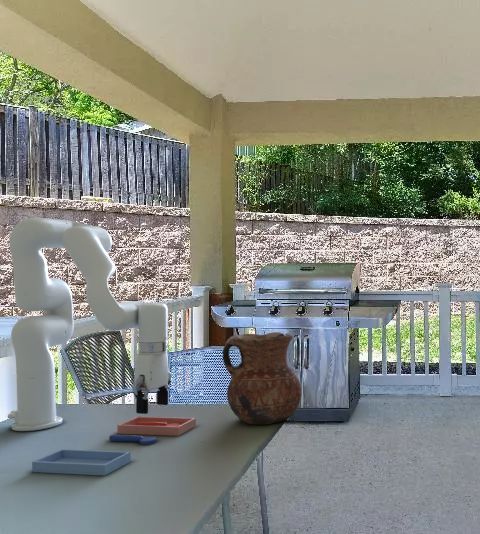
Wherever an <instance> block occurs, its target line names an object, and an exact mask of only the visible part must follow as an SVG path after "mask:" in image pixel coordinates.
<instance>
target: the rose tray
mask: <svg viewBox="0 0 480 534" xmlns="http://www.w3.org/2000/svg"><path fill="white" fill-rule="evenodd" d="M136 422H165V423H167V424H173V423H177V424H180V426H178V427H174V426H144V425H135V424H136ZM116 427H117V428H116V431H117V435H144V436H145V435H147V436H149V435H150V436H176V437H178V436H180V435H183V434H184V433H186V432H188V431H190V430H192V429H194V428H195V427H197V419H196V418H195V417H171V416H169V417H166V416H135V417H133V418H131V419H129V420H126V421H124V422H121V423H120V424H117V425H116Z"/></svg>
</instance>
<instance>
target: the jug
mask: <svg viewBox="0 0 480 534" xmlns="http://www.w3.org/2000/svg"><path fill="white" fill-rule="evenodd" d="M294 337H295V336H294V334H289V333H287V332H286V333H285V334H284V333H282V332H279V331H275V332H268V333H264V334H255V333H244V334H233V335H231V336H230V337H229V338H227V340H226V342H225V344H224V347H223V349H222V361H223V364H224V367H225V369H226V370H227V372H228V374H229V375H230V377H231V378H230V380H229V383H228V386H227V390H226V399H227V402H228V405H229V407H230V409H231V411H232V412H233V414H234V415H235V416H236V417H237V418H238V419H239V420H240V421H241V422H243V423H244V424H249V425H255V426H256V425H257V426H258V425H261V426H264V425H270V424H275V423H276V424H277V423H281V422H283V421H285V420H288V419H290V418H291V417H292V416H293V415H294V414H295V412H296V411H297V409H298V407H299V405H300V403H301V400H302V394H303V385H302V383H301V380H300V378H299V375H298V374H297V373H296V372H295V370H294V369H293V368H292V367H291V366H290V365H289V363H288V350H289V347H290V345H291V342H292V340H293V339H294ZM232 347H236V348H237V349H238V351H239V354H240V360H241V361H240V363H239V364H237V365H234V364H233V363H232V359H231V355H230V349H232Z"/></svg>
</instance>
